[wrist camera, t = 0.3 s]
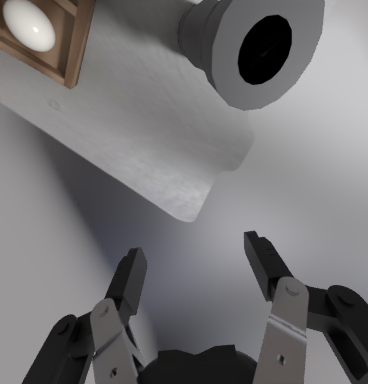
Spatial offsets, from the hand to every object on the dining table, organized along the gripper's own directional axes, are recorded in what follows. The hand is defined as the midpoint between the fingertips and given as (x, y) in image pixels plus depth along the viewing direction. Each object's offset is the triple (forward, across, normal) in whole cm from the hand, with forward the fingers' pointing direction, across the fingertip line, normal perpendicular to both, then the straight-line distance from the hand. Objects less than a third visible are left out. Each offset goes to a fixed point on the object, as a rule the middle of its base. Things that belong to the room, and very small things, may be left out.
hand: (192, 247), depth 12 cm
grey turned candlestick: (+26, -5, -19) cm, 33 cm away
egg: (+23, +17, -24) cm, 37 cm away
